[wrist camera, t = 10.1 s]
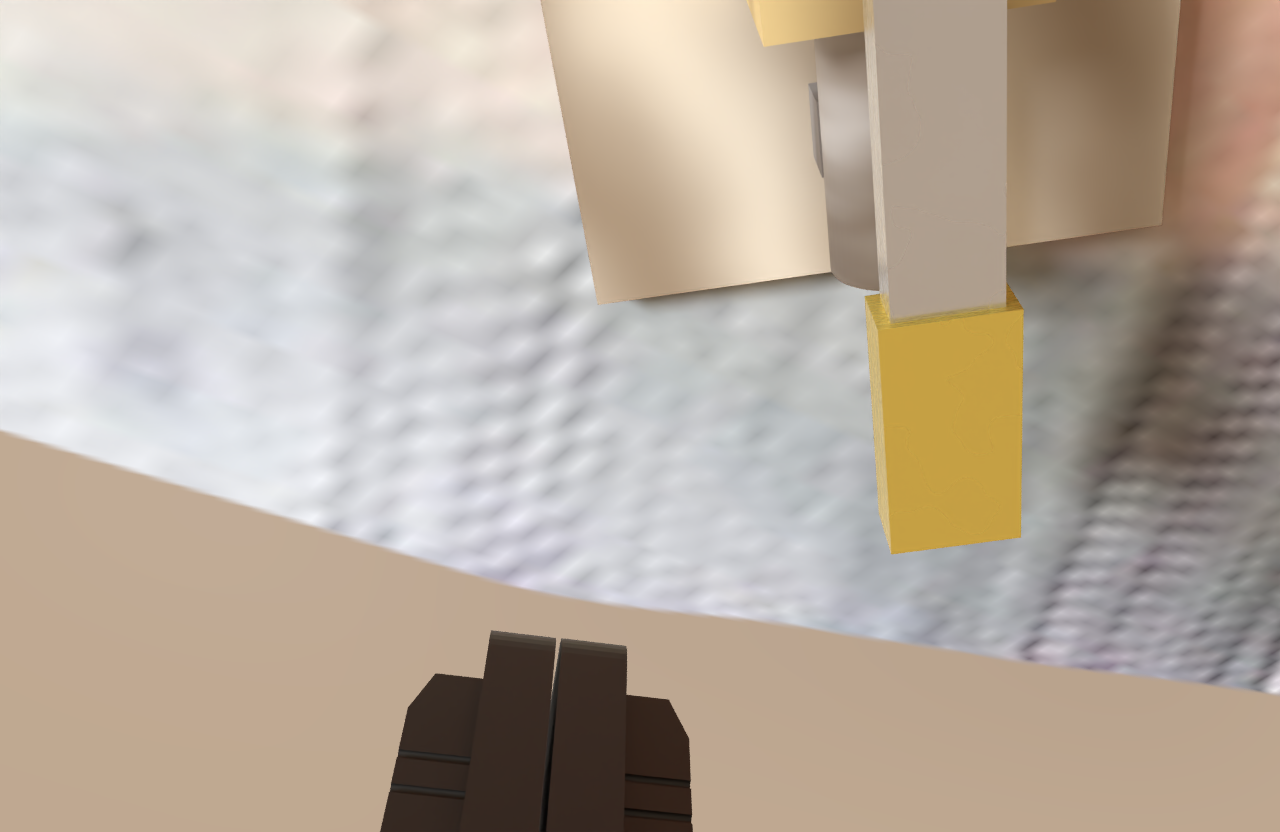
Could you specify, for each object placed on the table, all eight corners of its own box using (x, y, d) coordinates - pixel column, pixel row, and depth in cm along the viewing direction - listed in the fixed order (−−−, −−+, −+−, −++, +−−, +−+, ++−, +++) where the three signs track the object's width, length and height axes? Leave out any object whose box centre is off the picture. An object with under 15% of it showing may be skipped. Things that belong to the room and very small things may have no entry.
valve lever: (823, -180, 23) (847, -161, 20) (986, -209, 22) (1029, -194, 20) (870, 485, 31) (891, 554, 28) (989, 469, 30) (1020, 537, 28)
